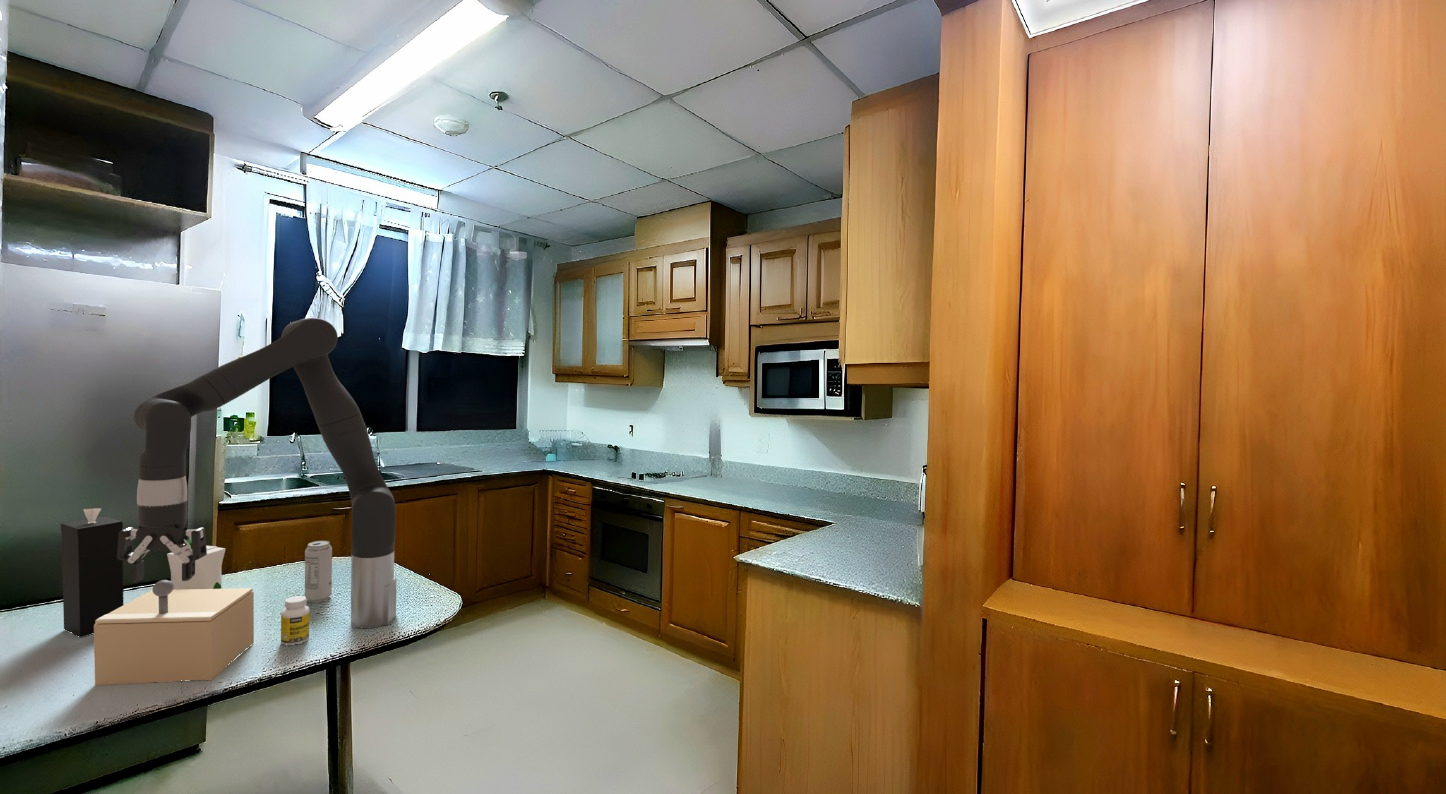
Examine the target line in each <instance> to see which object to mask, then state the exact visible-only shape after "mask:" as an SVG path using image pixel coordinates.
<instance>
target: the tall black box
mask: <svg viewBox="0 0 1446 794" xmlns="http://www.w3.org/2000/svg"><path fill="white" fill-rule="evenodd" d="M82 510H83V513H84V515H85V517H86V519H80V520H79V519H78V520H75V521H73V520H72V521H68V522H61V523H60V531H61V556H62V559H61V561H62V563H61V564H62V602H63V603H62V604H63V605H62V608H63V630H64V629H65V630H67V631H69V632H72V633H73V634H74V636H76V635H77V636H76V637H78V636H79V637H78V638H83V636H84V637H87V636H86V635H88V636H90V635H89V634H91V635H93V634H92V633H94V625H95V621H96V620H97V619H98V618H100V617H102V616H104V615H105V614H108V613H110V612H112V611H114V610H116V609H118V608H119V607H121V606H123V605H125V604H124V560H118V559H117V551H118V535H119V531H121V530H123V528H124V527H123V526H124V525H123V521H122V520H120V519H116V518H113V517H109V516H99V514H100V513H101V511H102V508H98V507H97V508H95V507H94V508H83V509H82ZM98 516H99V517H98ZM65 630H64V631H65ZM67 631H66V632H67ZM69 632H68V633H69ZM73 634H72V635H73Z"/></svg>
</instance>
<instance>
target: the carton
mask: <svg viewBox="0 0 1446 794" xmlns="http://www.w3.org/2000/svg"><path fill="white" fill-rule="evenodd" d="M254 595H255V594H254V591H252V592H250V593H249V594H248V595H246V596H245V597H243V598H242V599H240V600H239V601H238V602H236V603H235V604H233V605H232V606H230V607H229V608H228V609H226V610H225V611H223V612H222V613H221V614H219V615H218V616H216V617H215V618H213V619H212V620H211V621H181V622H141V623H100V624H95V625H94V634H93V644H94V645H93V647H94V650H93V654H94V685H95V686H100V685H101V686H102V685H103V686H104V685H127V684H152V683H153V682H158V683H174V682H173V681H181V680H182V681H183V682H186V681H185V680H208V681H212V680H214V679H215V678H216V677H217V676H218V675H220V674H221V673H222V672H223V671H224V670H225V669H227V667H226V666H228V664H229V663H231V661H233V660H234V659H235V658H236V657H237V656H238V655H239V654H241V653H242V652H243V651H244V650H245V649H246V648H248V647H249V646H250V645H251V644H253V643H254V642H255V640H254V635H255V634H254V633H255V630H254V628H255V627H254V625H255V623H254V621H255V617H254V615H255V611H254V610H255V609H254V601H255V600H254V599H255V598H254V597H255V596H254ZM254 644H255V643H254ZM254 644H253V645H254ZM233 662H234V661H233ZM231 664H232V663H231ZM228 667H229V666H228ZM224 668H225V669H224ZM223 669H224V670H223ZM221 671H222V672H221ZM220 672H221V673H220ZM213 678H214V679H213ZM169 681H171V682H169Z"/></svg>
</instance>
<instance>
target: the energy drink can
mask: <svg viewBox="0 0 1446 794" xmlns="http://www.w3.org/2000/svg"><path fill="white" fill-rule="evenodd" d="M332 581H333V547H332V546H331V544H330V541H329V540H314V541H312V542H309V543H308V544H307V547H306V548H305V550H304V597H306V602H308V603H310V604H312V603H315V604H317V603H322V602H325V601H327V600H329V599H330V597H331V596H332V594H333V593H332V592H333V591H332V588H333V585H332V583H333V582H332Z"/></svg>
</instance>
